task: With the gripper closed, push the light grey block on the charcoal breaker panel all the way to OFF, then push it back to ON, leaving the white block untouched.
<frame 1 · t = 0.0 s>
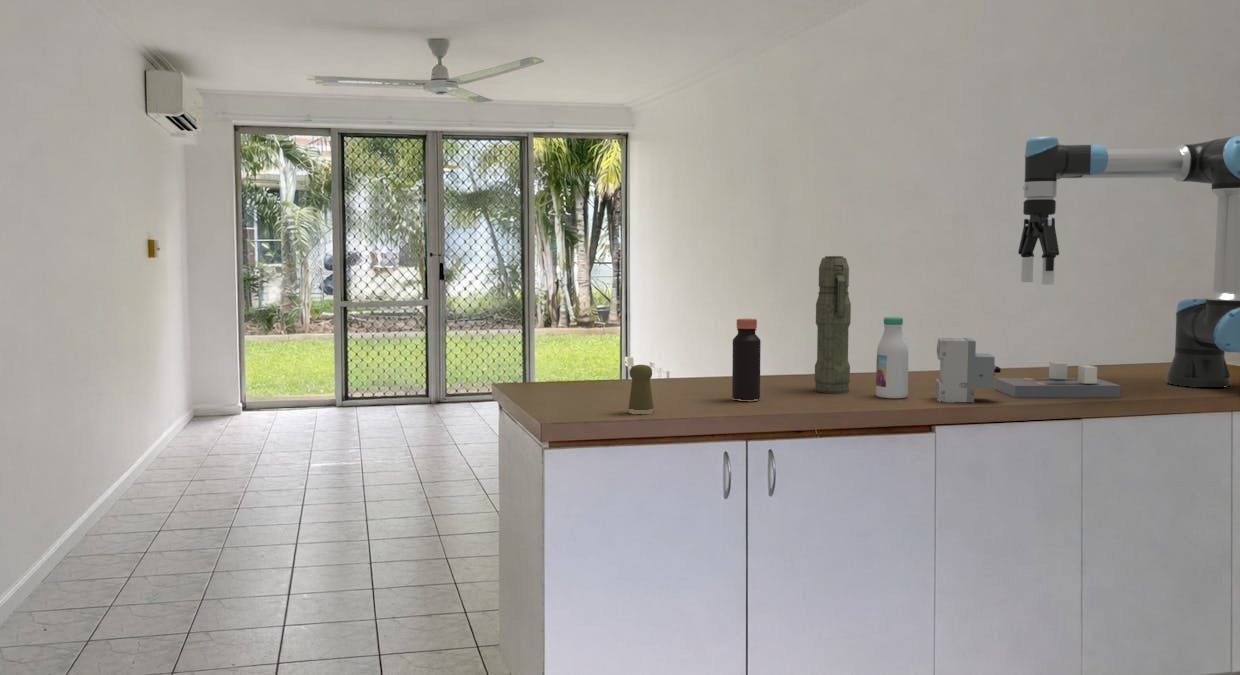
hand: (1036, 283, 261), 28 cm above the counter, fingers open, 13 cm apart
olive green shaker: (641, 413, 236), on the counter
circuit breaker: (967, 401, 251), on the counter
white block: (1087, 374, 257), point 5 cm above the counter, slide at 0.0 cm
thermos: (832, 391, 268), on the counter
milk bottle: (891, 397, 258), on the counter
light grey block: (1058, 370, 265), point 5 cm above the counter, slide at 4.0 cm
vinegar: (746, 400, 253), on the counter
panel: (1056, 393, 262), on the counter
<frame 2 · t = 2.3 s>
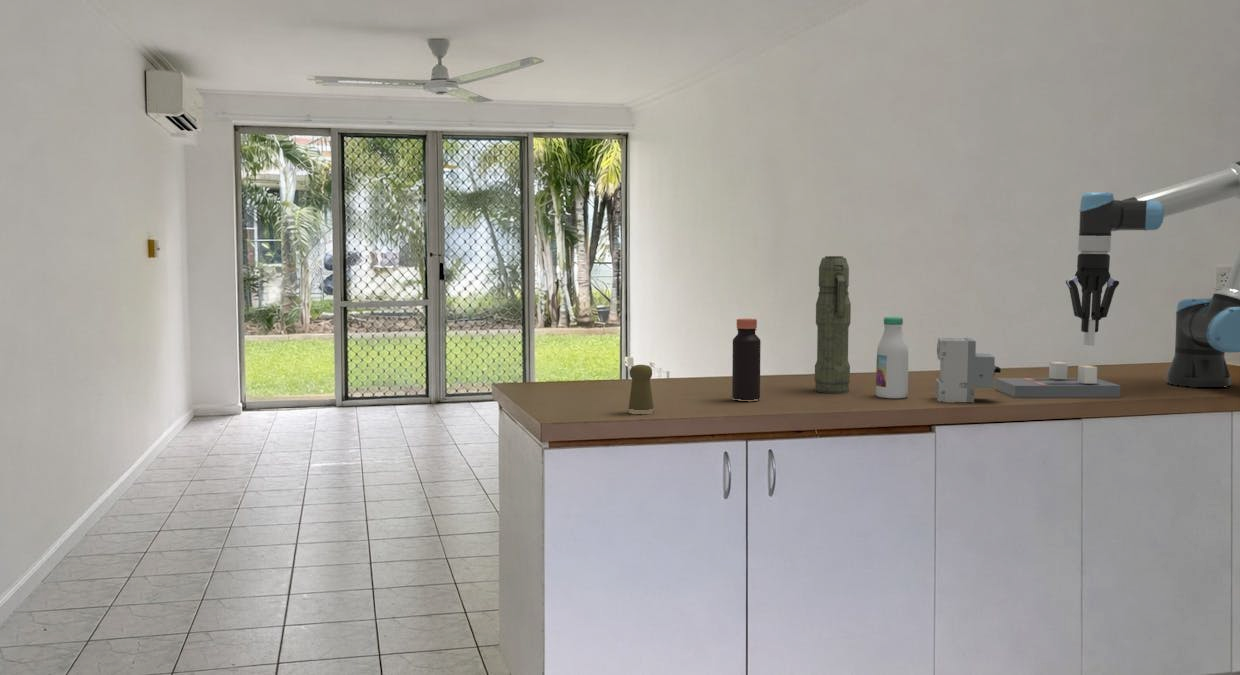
hand: (1088, 344, 265), 12 cm above the counter, fingers closed
nothing on the counter moved.
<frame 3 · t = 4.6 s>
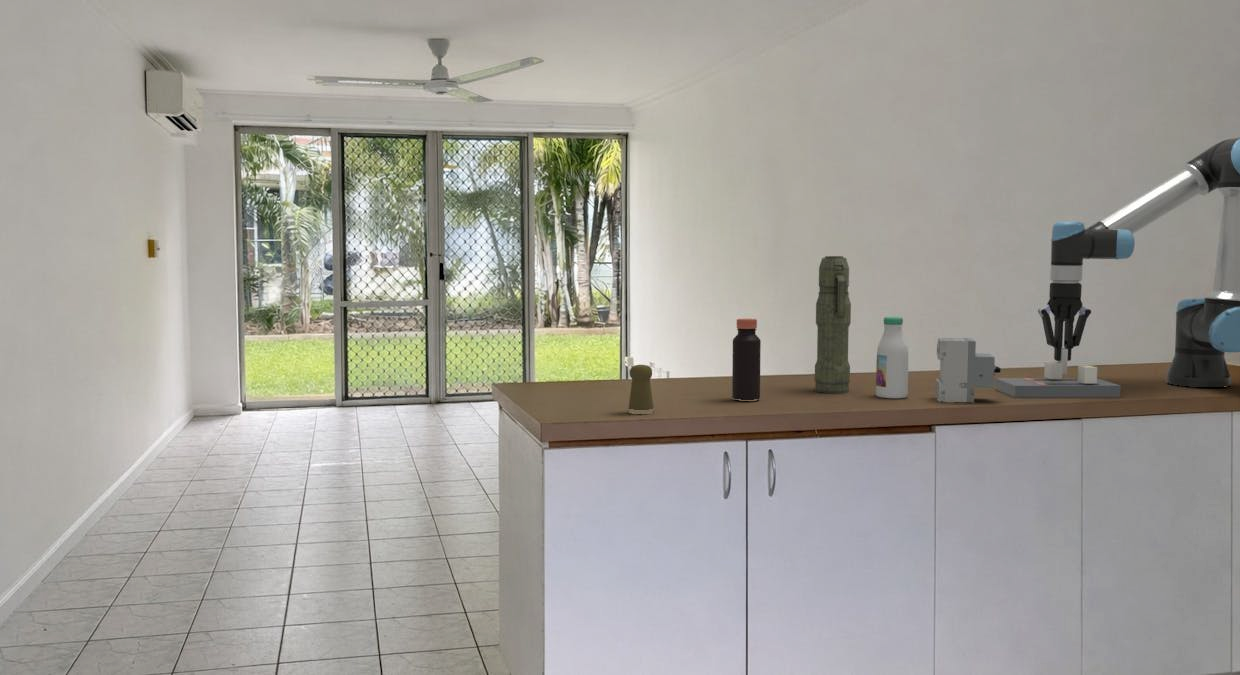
hand: (1061, 373, 265), 5 cm above the counter, fingers closed
light grey block: (1053, 370, 265), point 5 cm above the counter, slide at 5.3 cm, touching gripper
everything else where it was.
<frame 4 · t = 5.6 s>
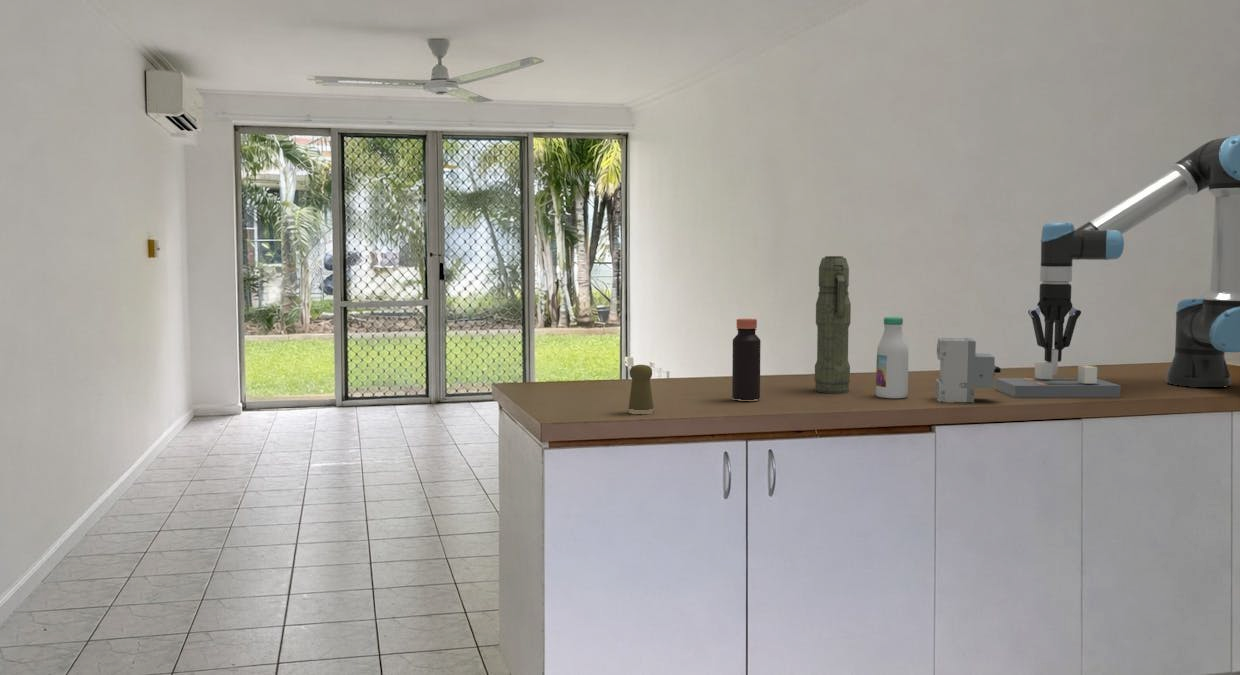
hand: (1052, 374, 265), 4 cm above the counter, fingers closed
light grey block: (1043, 370, 265), point 5 cm above the counter, slide at 7.7 cm, touching gripper
everything else where it was.
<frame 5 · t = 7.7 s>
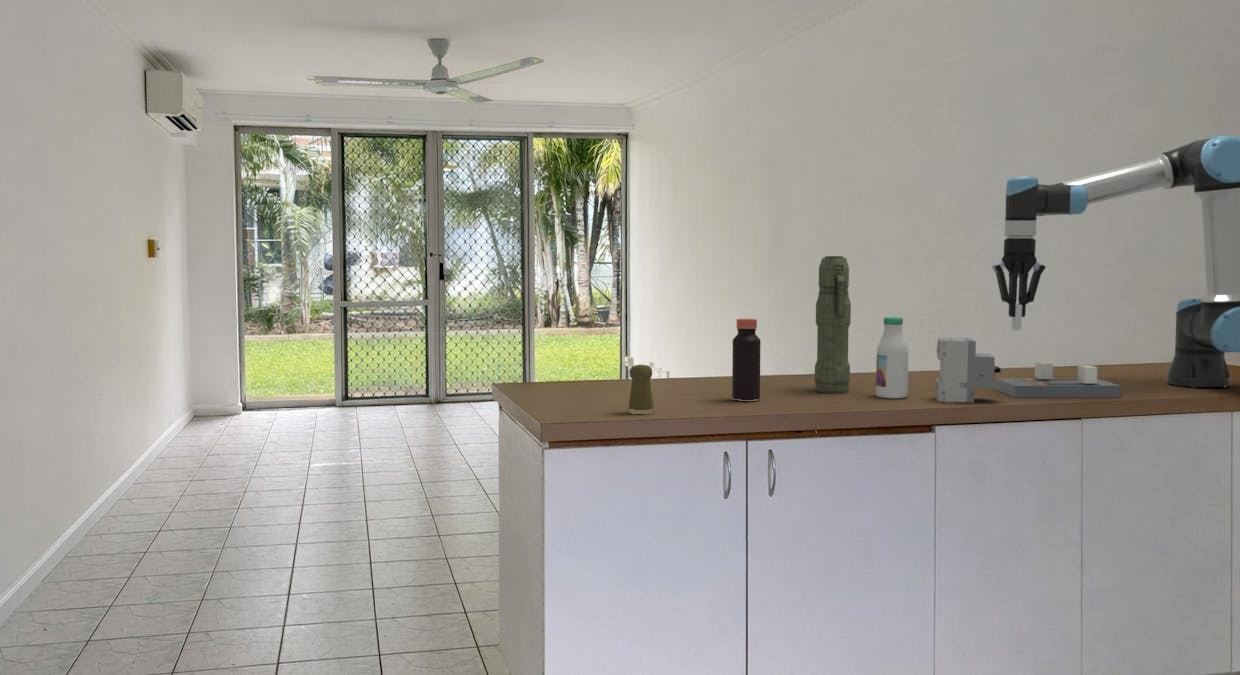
hand: (1016, 329, 264), 16 cm above the counter, fingers closed
light grey block: (1043, 370, 265), point 5 cm above the counter, slide at 7.7 cm
everything else where it was.
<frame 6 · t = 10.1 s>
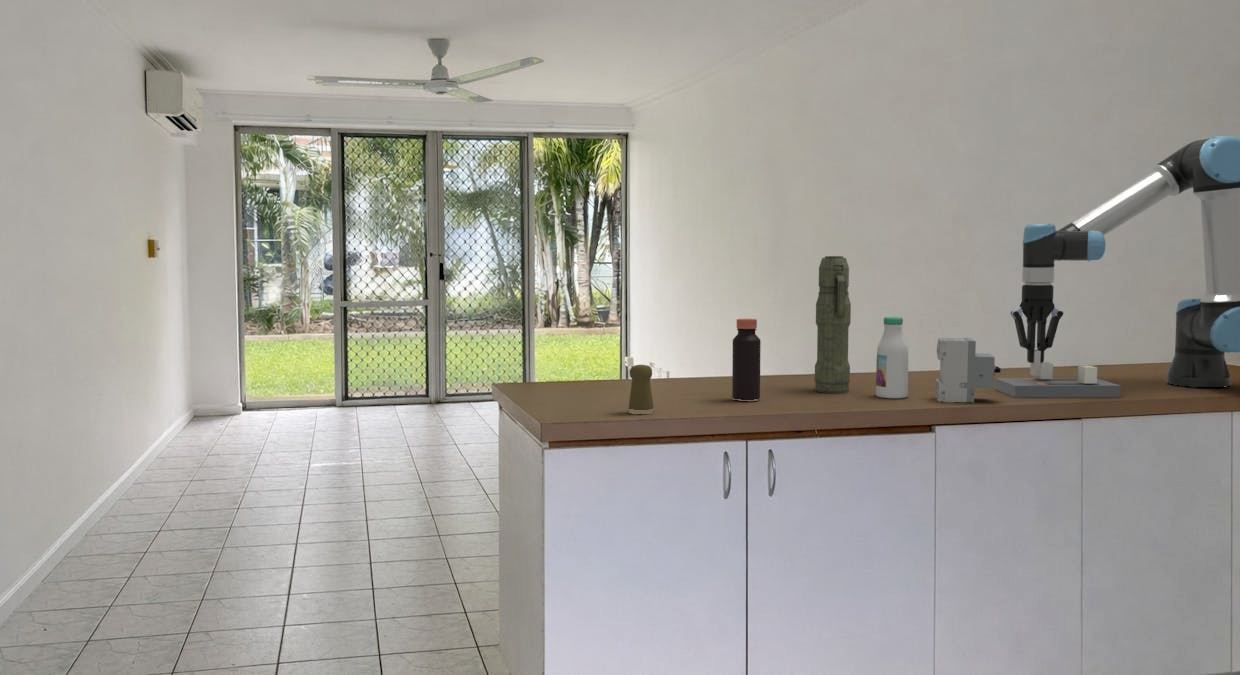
hand: (1035, 375, 266), 4 cm above the counter, fingers closed
light grey block: (1043, 370, 265), point 5 cm above the counter, slide at 7.7 cm, touching gripper
everything else where it was.
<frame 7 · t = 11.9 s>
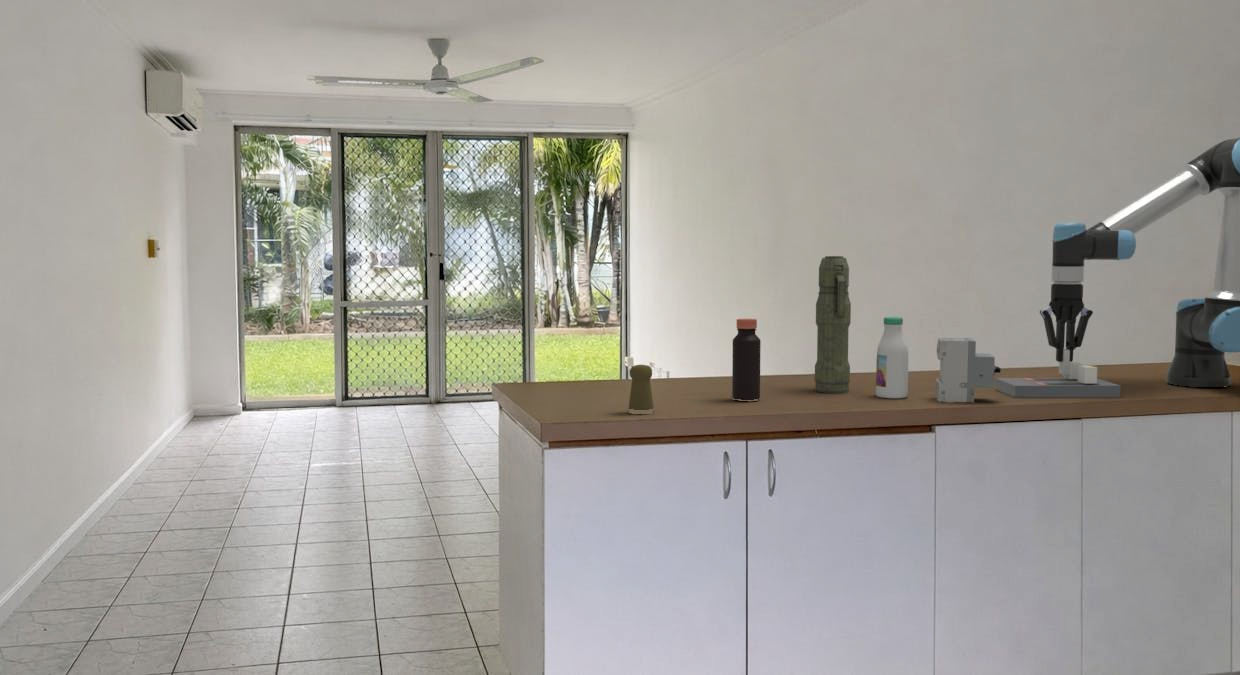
hand: (1063, 374, 265), 4 cm above the counter, fingers closed
light grey block: (1072, 370, 265), point 5 cm above the counter, slide at 0.3 cm, touching gripper
everything else where it was.
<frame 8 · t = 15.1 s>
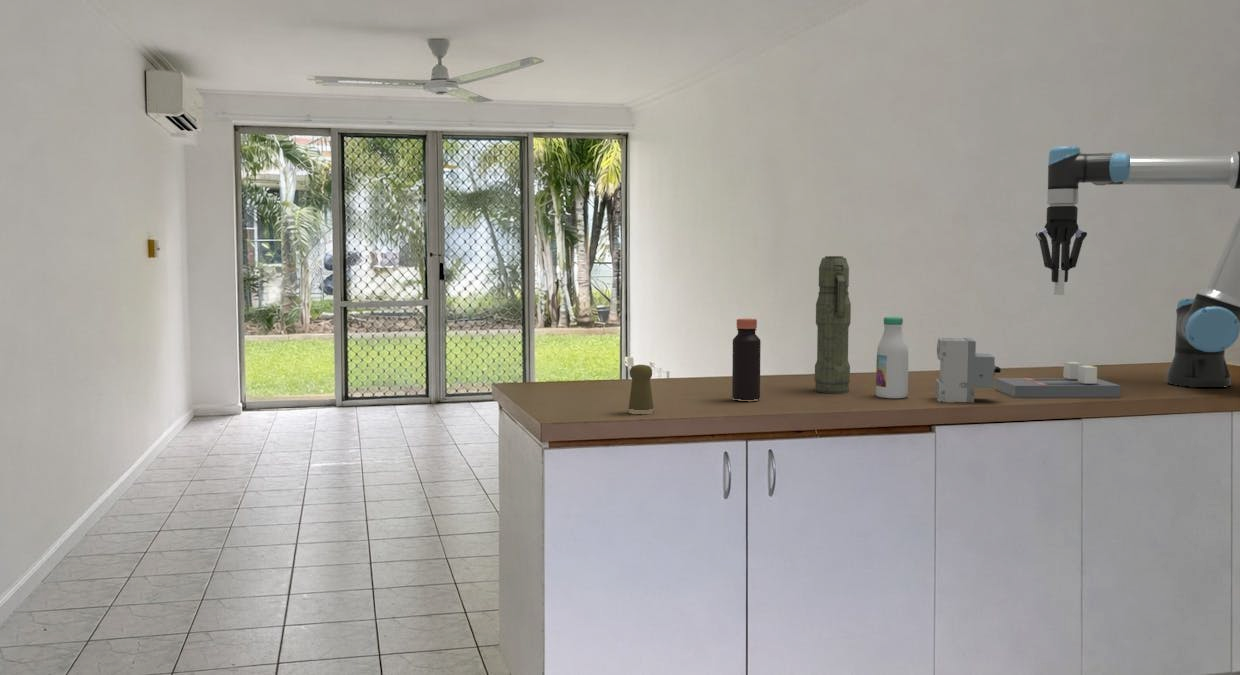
hand: (1059, 294, 274), 24 cm above the counter, fingers closed
light grey block: (1072, 370, 265), point 5 cm above the counter, slide at 0.3 cm
everything else where it was.
at the end: light grey block slide at 0.3 cm; white block slide at 0.0 cm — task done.
